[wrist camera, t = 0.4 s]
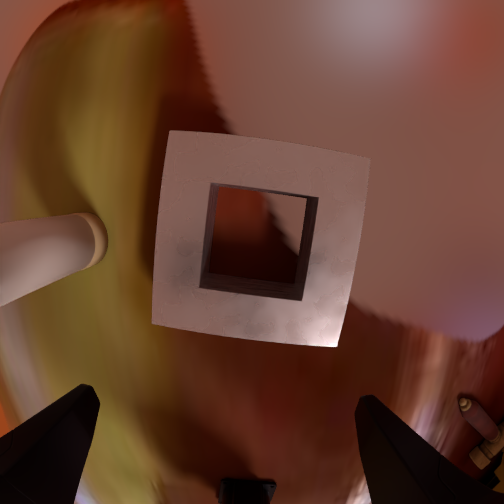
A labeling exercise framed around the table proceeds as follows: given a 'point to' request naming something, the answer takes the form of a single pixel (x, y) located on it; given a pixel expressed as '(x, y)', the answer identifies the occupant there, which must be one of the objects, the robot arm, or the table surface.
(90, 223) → the white tall rounded piece
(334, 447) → the table surface
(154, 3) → the table surface
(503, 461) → the olive upright panel stand
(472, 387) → the table surface
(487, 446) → the gavel
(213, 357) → the table surface
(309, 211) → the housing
